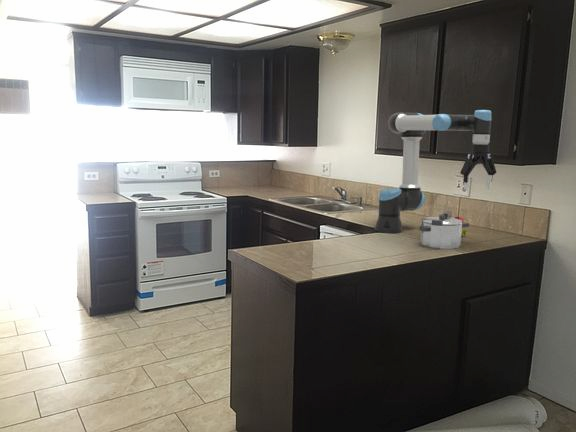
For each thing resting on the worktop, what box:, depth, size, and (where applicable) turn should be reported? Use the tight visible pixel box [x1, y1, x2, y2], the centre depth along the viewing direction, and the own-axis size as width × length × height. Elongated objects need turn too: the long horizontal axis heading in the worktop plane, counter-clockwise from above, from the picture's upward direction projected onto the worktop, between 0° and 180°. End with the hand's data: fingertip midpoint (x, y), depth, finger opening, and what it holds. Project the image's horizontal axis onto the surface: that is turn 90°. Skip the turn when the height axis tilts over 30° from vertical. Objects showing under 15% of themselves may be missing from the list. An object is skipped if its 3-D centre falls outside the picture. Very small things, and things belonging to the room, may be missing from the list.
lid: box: [421, 210, 462, 226], centre depth 244 cm, size 31×19×3 cm, turn 152°
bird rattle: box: [454, 216, 468, 237], centre depth 264 cm, size 6×11×9 cm
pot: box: [418, 221, 470, 250], centre depth 244 cm, size 18×29×11 cm, turn 117°
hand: (477, 189), depth 236 cm, fingers open, 13 cm apart
